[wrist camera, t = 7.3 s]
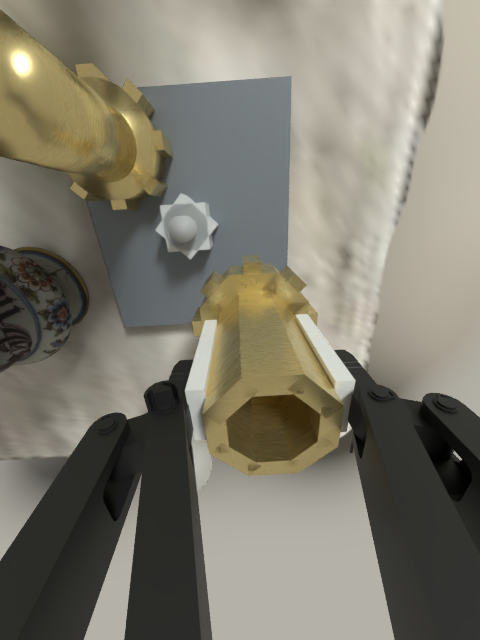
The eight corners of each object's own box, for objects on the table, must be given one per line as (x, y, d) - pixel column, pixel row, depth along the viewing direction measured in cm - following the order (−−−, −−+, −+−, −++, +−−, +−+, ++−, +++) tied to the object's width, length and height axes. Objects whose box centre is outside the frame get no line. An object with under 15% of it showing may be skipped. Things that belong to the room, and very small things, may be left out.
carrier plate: (70, 104, 21) (-38, 33, 12) (286, 88, 20) (320, 5, 12) (131, 320, 29) (91, 361, 21) (282, 311, 29) (301, 349, 21)
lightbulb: (204, 434, 38) (193, 513, 28) (170, 419, 36) (145, 497, 26) (224, 410, 36) (220, 486, 26) (189, 393, 34) (170, 467, 24)
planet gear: (191, 259, 18) (119, 330, 7) (309, 251, 18) (427, 311, 7) (205, 358, 22) (173, 508, 11) (303, 352, 21) (373, 497, 10)
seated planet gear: (49, 89, 19) (-215, -86, 8) (161, 80, 19) (55, -109, 8) (86, 213, 22) (-55, 213, 11) (180, 206, 22) (127, 201, 11)
